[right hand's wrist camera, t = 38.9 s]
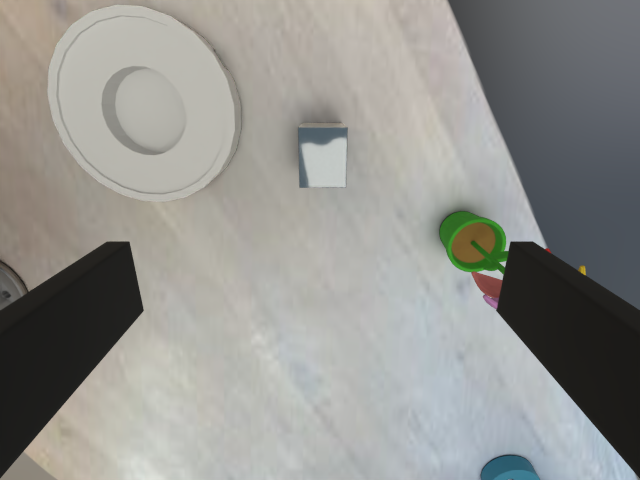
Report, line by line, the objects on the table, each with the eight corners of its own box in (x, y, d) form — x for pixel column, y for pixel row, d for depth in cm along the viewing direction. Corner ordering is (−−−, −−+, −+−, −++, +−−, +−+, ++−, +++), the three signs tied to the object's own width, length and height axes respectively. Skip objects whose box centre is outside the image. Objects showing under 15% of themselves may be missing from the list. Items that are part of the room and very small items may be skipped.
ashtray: (233, 208, 53) (226, 215, 49) (74, 179, 51) (54, 185, 48) (251, 34, 45) (244, 27, 41) (62, -6, 43) (38, -17, 39)
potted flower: (484, 197, 52) (616, 272, 29) (492, 244, 55) (619, 347, 31) (421, 217, 53) (499, 304, 30) (432, 261, 56) (512, 374, 33)
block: (341, 172, 51) (346, 187, 42) (303, 172, 51) (299, 187, 42) (342, 122, 49) (347, 127, 39) (302, 122, 49) (298, 127, 39)
